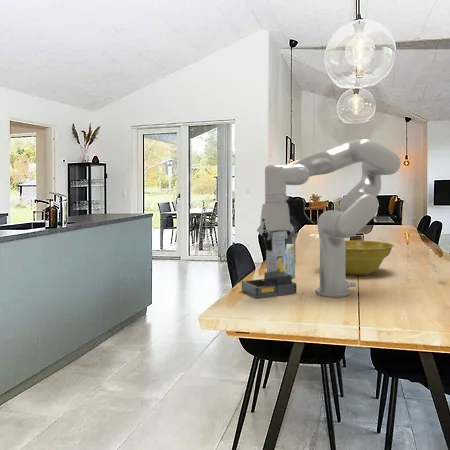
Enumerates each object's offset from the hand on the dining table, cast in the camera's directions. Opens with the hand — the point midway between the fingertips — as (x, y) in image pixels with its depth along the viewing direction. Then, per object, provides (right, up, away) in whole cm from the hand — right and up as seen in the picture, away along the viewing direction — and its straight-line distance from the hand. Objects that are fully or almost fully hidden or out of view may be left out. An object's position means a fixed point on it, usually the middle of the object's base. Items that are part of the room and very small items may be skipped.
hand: (275, 249), depth 169 cm
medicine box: (0, -2, 0) cm, 2 cm away
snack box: (+6, -16, +32) cm, 36 cm away
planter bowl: (+43, -14, +49) cm, 66 cm away
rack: (-1, -17, +12) cm, 21 cm away
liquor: (+14, -12, +76) cm, 78 cm away
